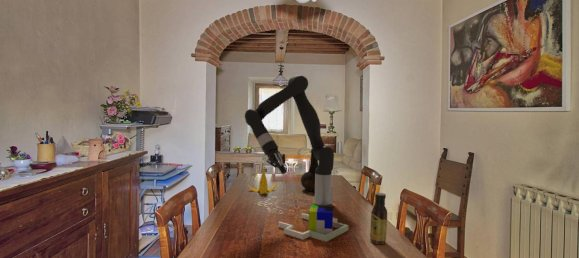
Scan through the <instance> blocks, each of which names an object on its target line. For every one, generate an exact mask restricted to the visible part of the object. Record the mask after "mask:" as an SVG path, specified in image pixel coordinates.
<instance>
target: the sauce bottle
mask: <svg viewBox="0 0 579 258" xmlns="http://www.w3.org/2000/svg"><path fill="white" fill-rule="evenodd" d="M374 194H375V195H374V197H375V198H374V199H375V200H374V201H375V202H374V205H373V207H372V210H371V213H370V231H369V240H370V242H371V243H373V244H374V245H384V244H386V240H387V229H388V228H387V227H388V209H387V207H386V198H387V196H386V193H382V192H376V193H374Z"/></svg>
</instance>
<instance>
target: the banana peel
mask: <svg viewBox="0 0 579 258" xmlns="http://www.w3.org/2000/svg"><path fill="white" fill-rule="evenodd" d="M261 169H262V172H261V176H260V179H259V183H258V184H259V185H258V186H259V187H258V189H256V188H253V187H252V186H250V185H247V187H248V188H249V189H250V190H251V191H252V192H253V193H259V194H260V195H269V193H271V192H273V191H274V190H275V189H276V187H277V184H275V185H274V186H272V187H271V188H268V180H267V176H266V172H265V171H266V166H262V168H261Z"/></svg>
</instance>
